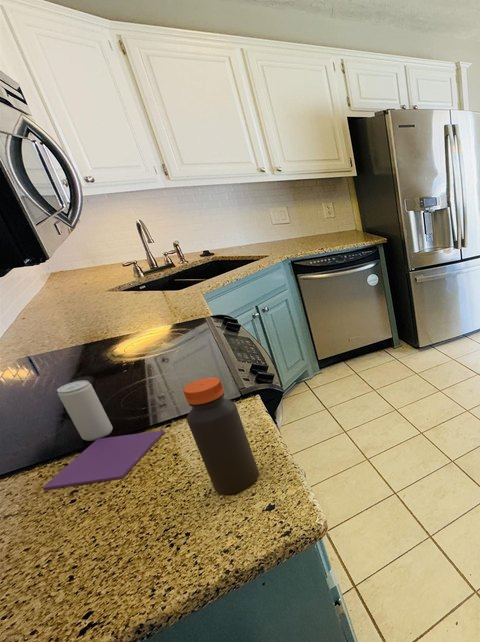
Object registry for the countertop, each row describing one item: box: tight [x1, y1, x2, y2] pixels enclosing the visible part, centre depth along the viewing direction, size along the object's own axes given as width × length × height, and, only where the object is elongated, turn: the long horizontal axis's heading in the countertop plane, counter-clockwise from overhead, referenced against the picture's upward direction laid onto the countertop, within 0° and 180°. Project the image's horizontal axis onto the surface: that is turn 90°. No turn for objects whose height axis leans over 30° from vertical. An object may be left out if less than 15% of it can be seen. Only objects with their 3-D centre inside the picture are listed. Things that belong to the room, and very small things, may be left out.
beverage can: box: [56, 379, 113, 442], centre depth 84 cm, size 5×5×12 cm
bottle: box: [182, 377, 260, 496], centre depth 69 cm, size 7×7×20 cm
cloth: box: [42, 430, 165, 491], centre depth 79 cm, size 12×14×1 cm
